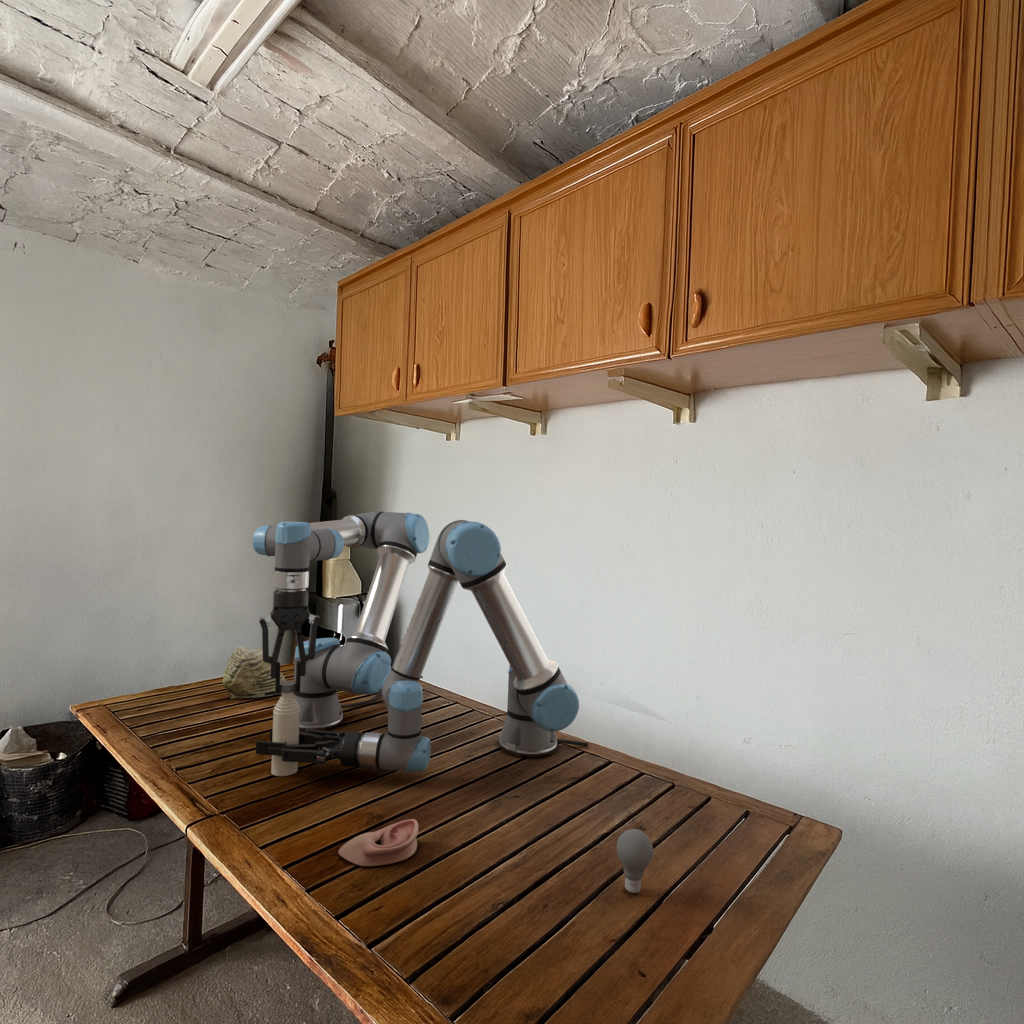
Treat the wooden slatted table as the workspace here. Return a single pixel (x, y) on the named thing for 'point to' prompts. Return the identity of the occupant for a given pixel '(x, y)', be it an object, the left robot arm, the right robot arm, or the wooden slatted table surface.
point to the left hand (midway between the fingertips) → (287, 690)
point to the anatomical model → (382, 845)
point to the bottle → (285, 732)
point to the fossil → (249, 674)
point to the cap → (287, 686)
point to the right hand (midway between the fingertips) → (264, 741)
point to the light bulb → (634, 857)
